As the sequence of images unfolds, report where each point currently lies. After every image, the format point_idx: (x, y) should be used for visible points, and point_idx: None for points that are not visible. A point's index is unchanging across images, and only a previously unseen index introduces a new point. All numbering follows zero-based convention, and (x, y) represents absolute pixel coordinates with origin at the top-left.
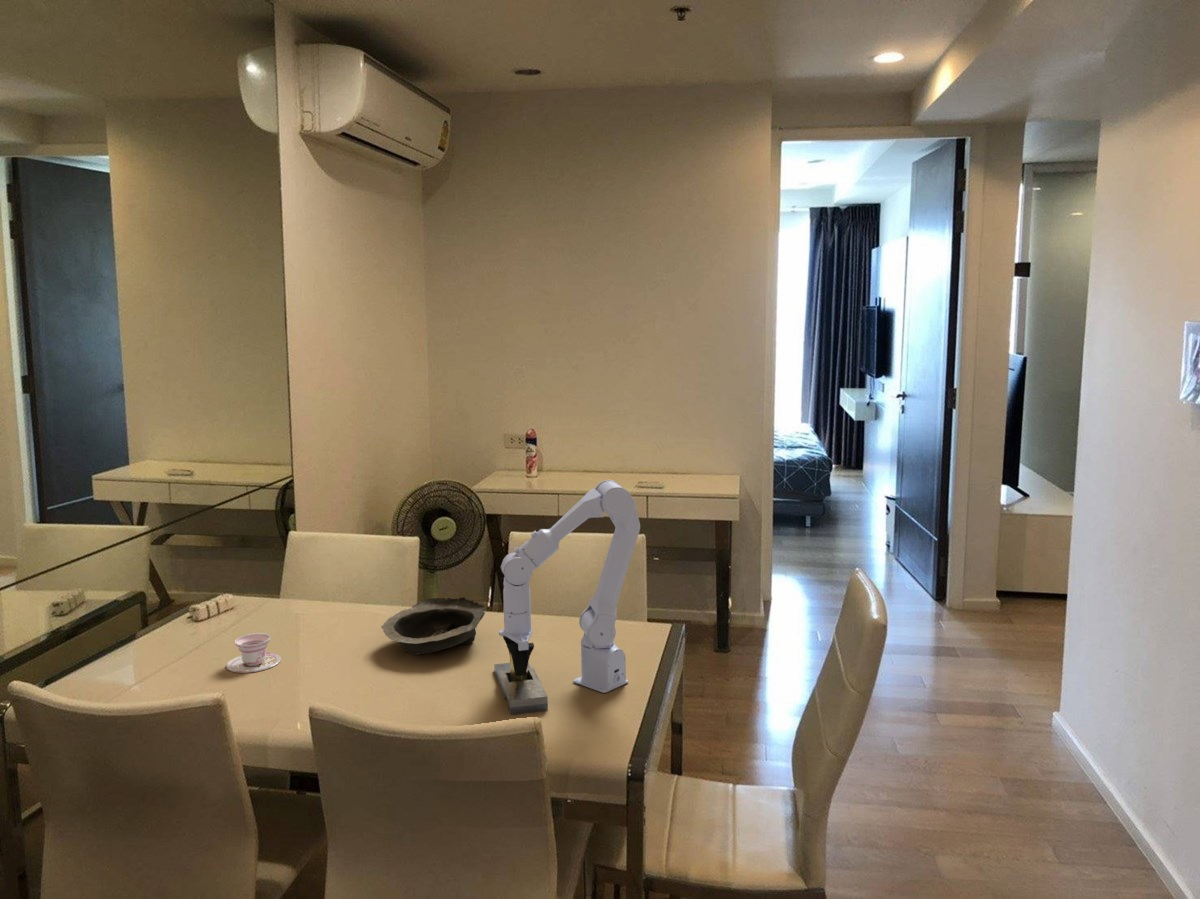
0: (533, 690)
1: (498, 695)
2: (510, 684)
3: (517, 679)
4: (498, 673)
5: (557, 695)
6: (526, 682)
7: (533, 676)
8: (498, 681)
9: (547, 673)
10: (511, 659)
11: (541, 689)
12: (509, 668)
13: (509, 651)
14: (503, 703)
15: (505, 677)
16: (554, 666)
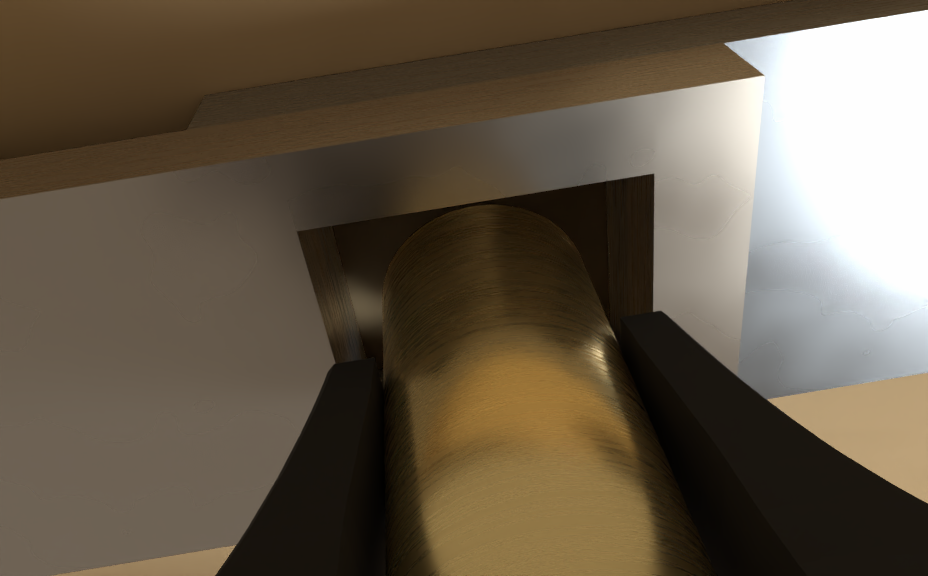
0: (30, 492)
1: (330, 9)
2: (211, 250)
3: (383, 328)
4: (872, 30)
5: None
6: (279, 420)
7: None
8: (773, 4)
9: None
10: (453, 478)
11: (70, 553)
12: None
13: (747, 490)
14: (74, 78)
15: (480, 178)
16: (917, 493)
